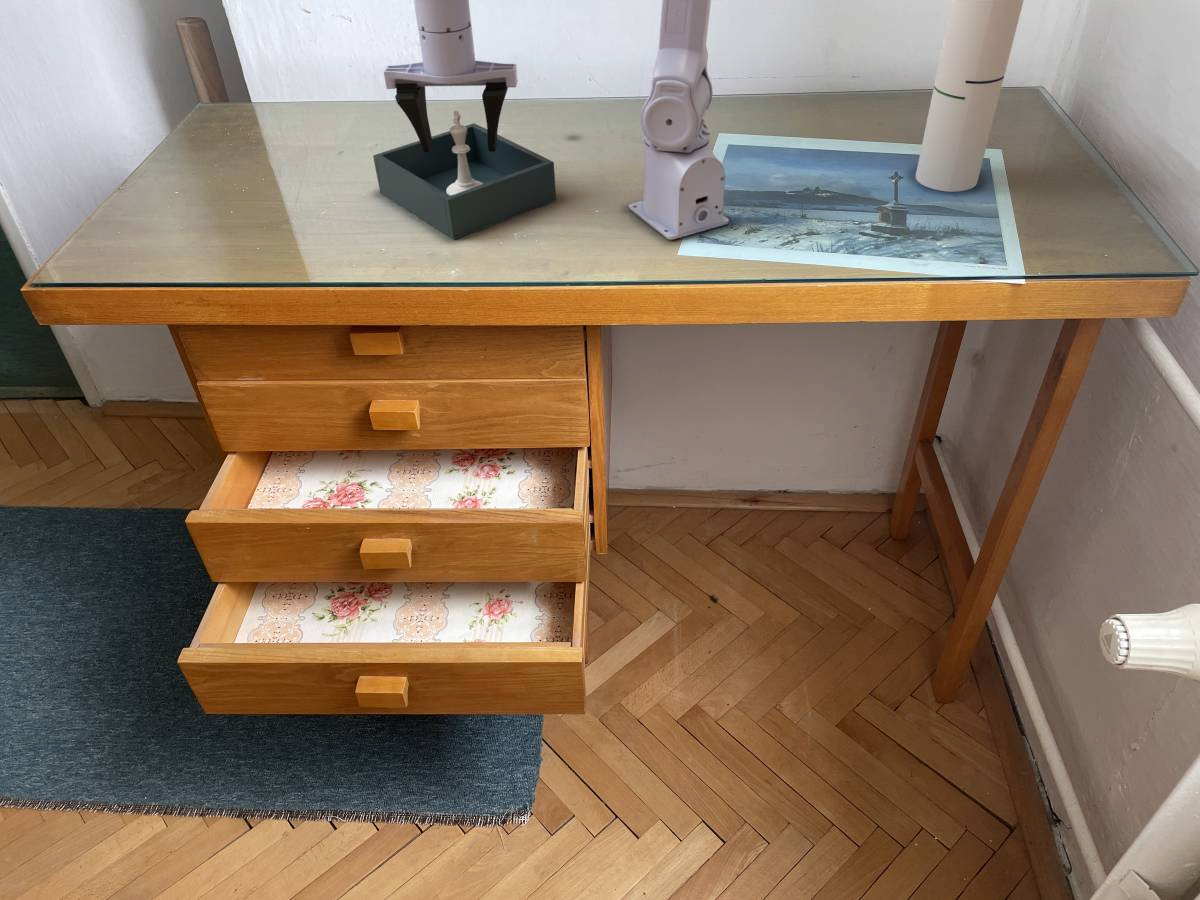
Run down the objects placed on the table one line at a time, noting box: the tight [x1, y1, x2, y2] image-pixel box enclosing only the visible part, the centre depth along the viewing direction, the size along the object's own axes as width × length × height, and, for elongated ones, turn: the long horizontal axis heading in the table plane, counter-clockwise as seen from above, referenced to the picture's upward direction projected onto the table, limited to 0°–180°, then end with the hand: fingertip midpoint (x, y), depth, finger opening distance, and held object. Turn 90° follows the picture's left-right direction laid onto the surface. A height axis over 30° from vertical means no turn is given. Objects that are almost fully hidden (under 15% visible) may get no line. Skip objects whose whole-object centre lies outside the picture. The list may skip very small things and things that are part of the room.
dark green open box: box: [372, 122, 557, 241], centre depth 109 cm, size 17×15×5 cm
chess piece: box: [446, 110, 483, 196], centre depth 107 cm, size 5×5×10 cm
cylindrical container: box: [915, 0, 1025, 193], centre depth 103 cm, size 7×7×25 cm
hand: (460, 148), depth 107 cm, fingers open, 7 cm apart
